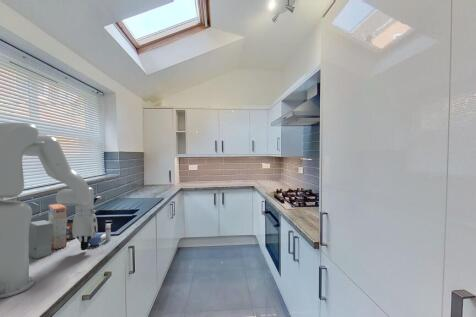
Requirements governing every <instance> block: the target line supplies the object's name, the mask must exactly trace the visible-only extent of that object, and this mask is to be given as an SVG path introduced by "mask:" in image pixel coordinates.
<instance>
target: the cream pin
mask: <svg viewBox="0 0 476 317" xmlns="http://www.w3.org/2000/svg"><path fill="white" fill-rule="evenodd" d="M100 236H101V242H103V241H104V239H105V240H106V232H105V233H103V234H102V235H100Z"/></svg>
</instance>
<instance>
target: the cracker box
mask: <svg viewBox="0 0 476 317" xmlns="http://www.w3.org/2000/svg"><path fill="white" fill-rule="evenodd" d="M67 211H68V207H66V205H61V204H59V203H54V204H48V221H49V222H51V223H53V228H52V242H51V249H53V250H57V249H61V248H66V247H67V239H66V226H67V222H68V218H67V216H68V215H67V214H68V212H67Z"/></svg>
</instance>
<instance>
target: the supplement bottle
mask: <svg viewBox="0 0 476 317" xmlns="http://www.w3.org/2000/svg"><path fill="white" fill-rule="evenodd" d="M73 219H74V217H70V218H67V226H66V241H67V240H75V239H76V238H73V234H72V225H73Z"/></svg>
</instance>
